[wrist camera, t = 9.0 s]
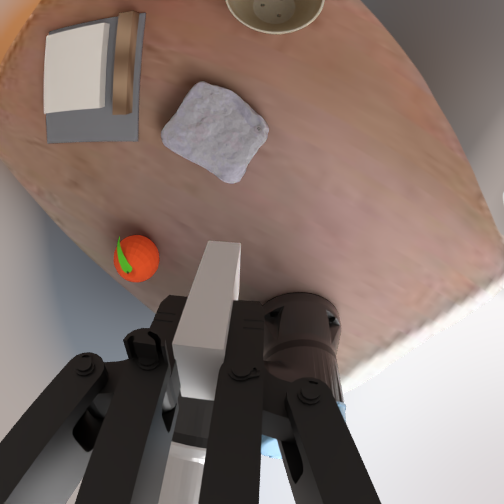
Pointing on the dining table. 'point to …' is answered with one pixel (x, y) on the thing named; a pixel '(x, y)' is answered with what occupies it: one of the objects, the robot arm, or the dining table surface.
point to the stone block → (216, 131)
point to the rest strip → (124, 63)
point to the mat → (101, 119)
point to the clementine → (136, 258)
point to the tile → (76, 68)
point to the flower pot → (275, 14)
